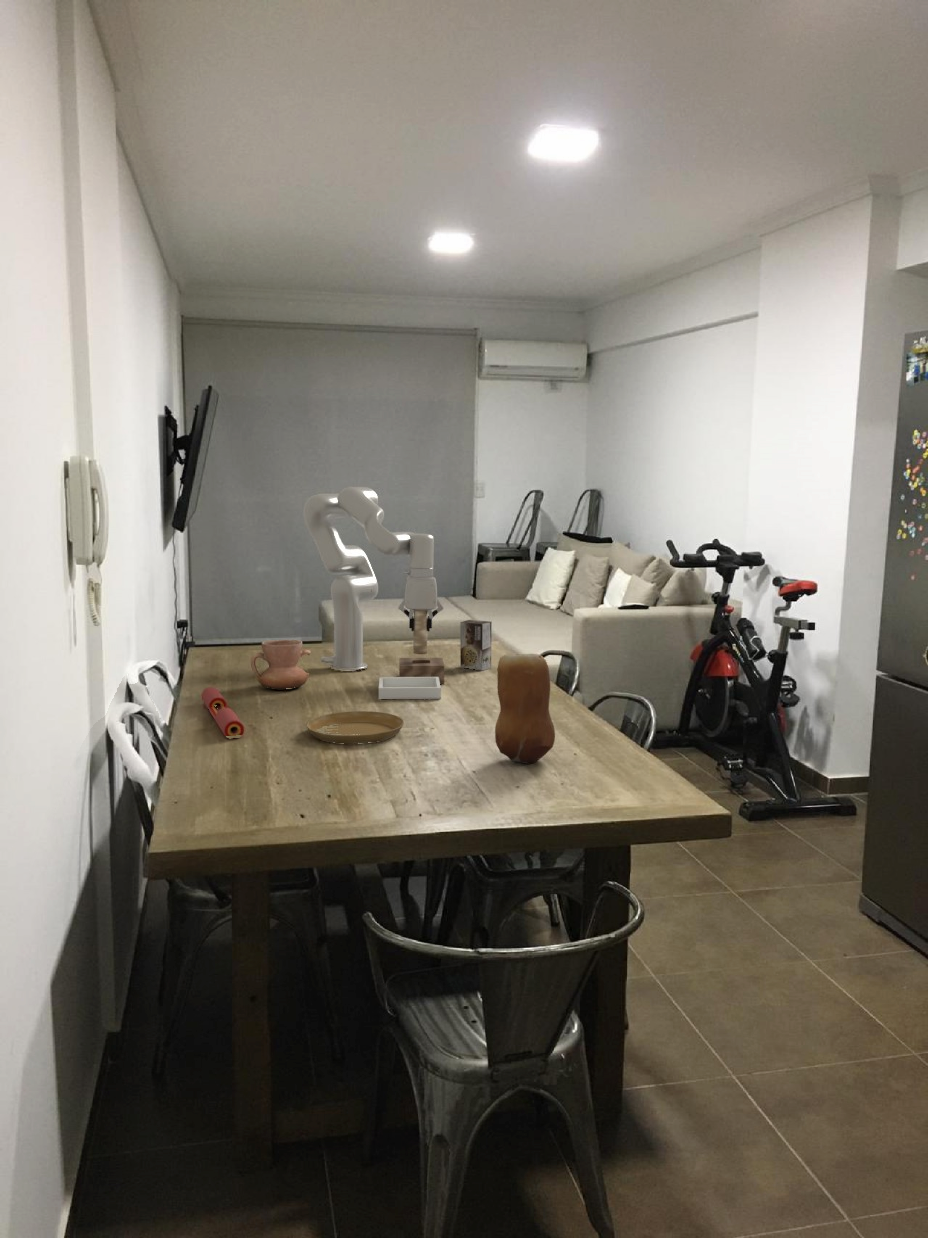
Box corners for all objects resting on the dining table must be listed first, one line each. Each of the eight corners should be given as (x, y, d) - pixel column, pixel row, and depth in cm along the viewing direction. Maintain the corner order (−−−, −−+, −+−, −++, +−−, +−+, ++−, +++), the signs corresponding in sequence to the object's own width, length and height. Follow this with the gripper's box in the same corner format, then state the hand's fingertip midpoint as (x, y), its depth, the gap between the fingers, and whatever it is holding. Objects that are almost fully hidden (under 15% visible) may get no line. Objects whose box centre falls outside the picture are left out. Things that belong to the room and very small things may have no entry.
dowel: (413, 654, 305) (413, 607, 303) (413, 651, 310) (413, 605, 307) (427, 654, 305) (428, 607, 303) (426, 651, 310) (427, 605, 308)
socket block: (399, 684, 301) (399, 665, 300) (399, 676, 315) (399, 657, 314) (444, 684, 302) (444, 665, 301) (442, 675, 316) (442, 657, 315)
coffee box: (492, 668, 330) (492, 621, 328) (482, 671, 324) (482, 623, 322) (469, 665, 335) (469, 619, 332) (459, 668, 329) (459, 621, 327)
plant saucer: (312, 751, 227) (312, 737, 227) (301, 726, 250) (301, 713, 250) (413, 744, 234) (413, 731, 233) (393, 721, 257) (393, 708, 256)
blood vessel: (244, 739, 237) (244, 719, 236) (224, 741, 235) (223, 721, 235) (219, 703, 276) (219, 686, 275) (201, 704, 274) (201, 687, 273)
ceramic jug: (310, 681, 305) (308, 637, 303) (313, 690, 291) (311, 644, 289) (251, 685, 301) (249, 640, 299) (252, 694, 287) (250, 647, 285)
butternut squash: (518, 750, 228) (519, 645, 225) (565, 760, 220) (568, 652, 217) (481, 762, 218) (482, 653, 214) (530, 774, 209) (532, 660, 206)
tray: (378, 700, 280) (378, 688, 279) (379, 688, 296) (379, 677, 295) (440, 699, 281) (440, 687, 281) (438, 688, 297) (438, 676, 296)
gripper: (394, 574, 299) (393, 632, 302) (448, 574, 301) (447, 632, 303) (394, 571, 307) (393, 628, 310) (447, 572, 308) (446, 629, 311)
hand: (420, 630), depth 306 cm, fingers closed on dowel, 4 cm apart
